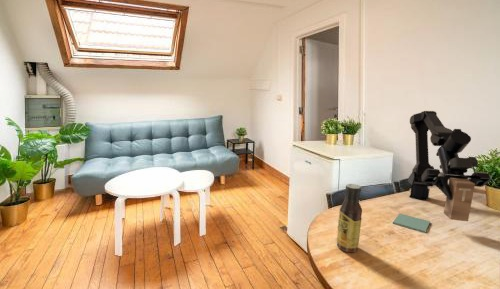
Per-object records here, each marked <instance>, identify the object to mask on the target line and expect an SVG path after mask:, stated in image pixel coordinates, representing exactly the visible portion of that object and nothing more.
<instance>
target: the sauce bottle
mask: <svg viewBox="0 0 500 289" xmlns="http://www.w3.org/2000/svg"><path fill="white" fill-rule="evenodd" d="M361 191H362V187H361V186H360V185H359V184H356V183H348V184H346V185H345V197H344V200H343V202H342V204H341V206H340V208H339V212H338V222H337V223H338V224H337V233H336V245H337V248H338V249H339V250H341V251H343V252H345V253H354V252H357V251H358V247H359V244H360V235H361V227H362V215H363V209H362V208H363V207H362V206H361V204H360V193H361Z"/></svg>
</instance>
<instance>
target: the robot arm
mask: <svg viewBox="0 0 500 289" xmlns="http://www.w3.org/2000/svg"><path fill="white" fill-rule="evenodd" d="M437 114H438V113H437V111H434V110H423V111H421V112H418V113H415V114H412V115H411V116H410V118H409V124H410V128H411V130H412V131H413V133H415V134H414V135H415V158H416V159H415V160H416V163H415V165H414V166H413V168H412V170H411V171H412V172H411V173H410V175H409V176H408V181H407V182H408V183H409V184H410V185H411V187H410V195H408V197H409V198H412V199H416V200H421V201H427V199H429V196H430V192H431V191H430V190H431V189H430V188H429V187H431V188H432V187H434V186H436V187H437V188H438V189H439V190H440V191H441V192H442V193H443V194H444V195H445V197H446V196H447V198H448V199H449V200H451V199H452V195H451V191H450V188H449V185H448V180H449V179H450V178H460V179H467V180H469V181H471V182H473V183H475V188H476V187H478V188H481V187H484V186H486V185H487V184H488V183H489V182H490V181H491V180H492V176H491V175H490V173H488V172H484V171H483V172H482V171H474V172H473V173H471V174H470V175H468V174H467V172H468V170H469V169H473V168H476V167H478V165H479V162H478V159H477V157H476V156H468V157H459V156H460V155H459V153H462V151H463V150H464V149H465V148H466V147H468V145H469V143H470V142H471V140H472V137H471V136H470V135H469V134H468V133H467V132H464V131H462V129H461V128H454V129H453V130H452V129H450V128H447V127H445V125H444V124H443V122H442V121H441V120H440V118H439V117H438V115H437ZM428 131H429V132H430V133H431V135H430V138H428ZM428 139H430V143H432V146H434V147H438V149H437V151H436V154H435V155H436V156H437V157H438V159H439V163H440V165H439V168H434V165H431V164H430V162H429V159H430V158H429V140H428ZM440 169H441V170H440ZM442 171H443V172H442ZM465 173H466V174H465Z"/></svg>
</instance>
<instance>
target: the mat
mask: <svg viewBox="0 0 500 289" xmlns="http://www.w3.org/2000/svg"><path fill="white" fill-rule="evenodd" d="M430 223H431V221H430V220H427V219H422V218H419V217H415V216H412V215H408V214H404V213H401V212H400V213H398V215H397V216H396V217H395V218H394V220H393V221H392V224H393V225H396V226H400V227H404V228H407V229H411V230H414V231H417V232H420V233H424V234H425V233H426V232H427V230H428V228H429V226H430Z"/></svg>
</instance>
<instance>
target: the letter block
mask: <svg viewBox="0 0 500 289" xmlns="http://www.w3.org/2000/svg"><path fill="white" fill-rule="evenodd" d="M449 188H450V191H451V195H452V199H451V200H449V199H448V198H447V196H446V195H445V204H444V209H443V215H445V216H446V217H447V218H448V219H449V220H455V221H461V222H469V218H470V213H471V207H472V202H473V201H472V200H473V197H474V191H475V188H476V186H475V183H473V182H471V181H469V180H467V179H460V178H450V179H449Z"/></svg>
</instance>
